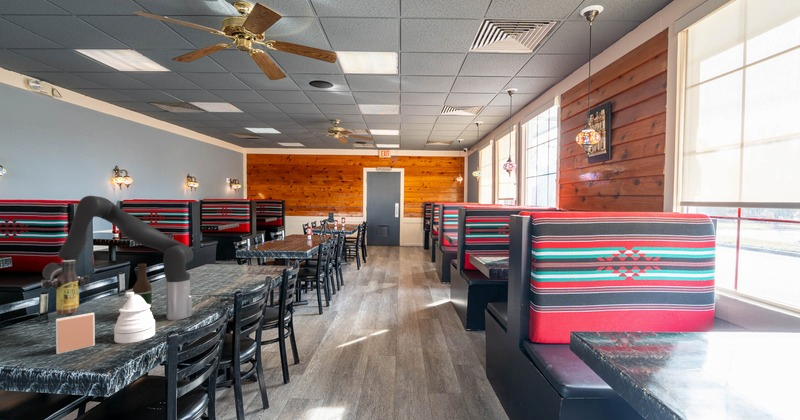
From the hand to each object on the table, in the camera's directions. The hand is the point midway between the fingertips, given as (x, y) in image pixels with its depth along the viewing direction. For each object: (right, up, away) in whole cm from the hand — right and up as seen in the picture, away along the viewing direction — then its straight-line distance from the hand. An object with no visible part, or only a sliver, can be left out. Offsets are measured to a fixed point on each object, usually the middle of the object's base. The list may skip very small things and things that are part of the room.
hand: (69, 284), depth 129 cm
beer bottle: (+2, -22, +34) cm, 40 cm away
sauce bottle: (-2, -11, +2) cm, 11 cm away
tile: (+7, -22, -5) cm, 24 cm away
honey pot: (+20, -22, +7) cm, 31 cm away
